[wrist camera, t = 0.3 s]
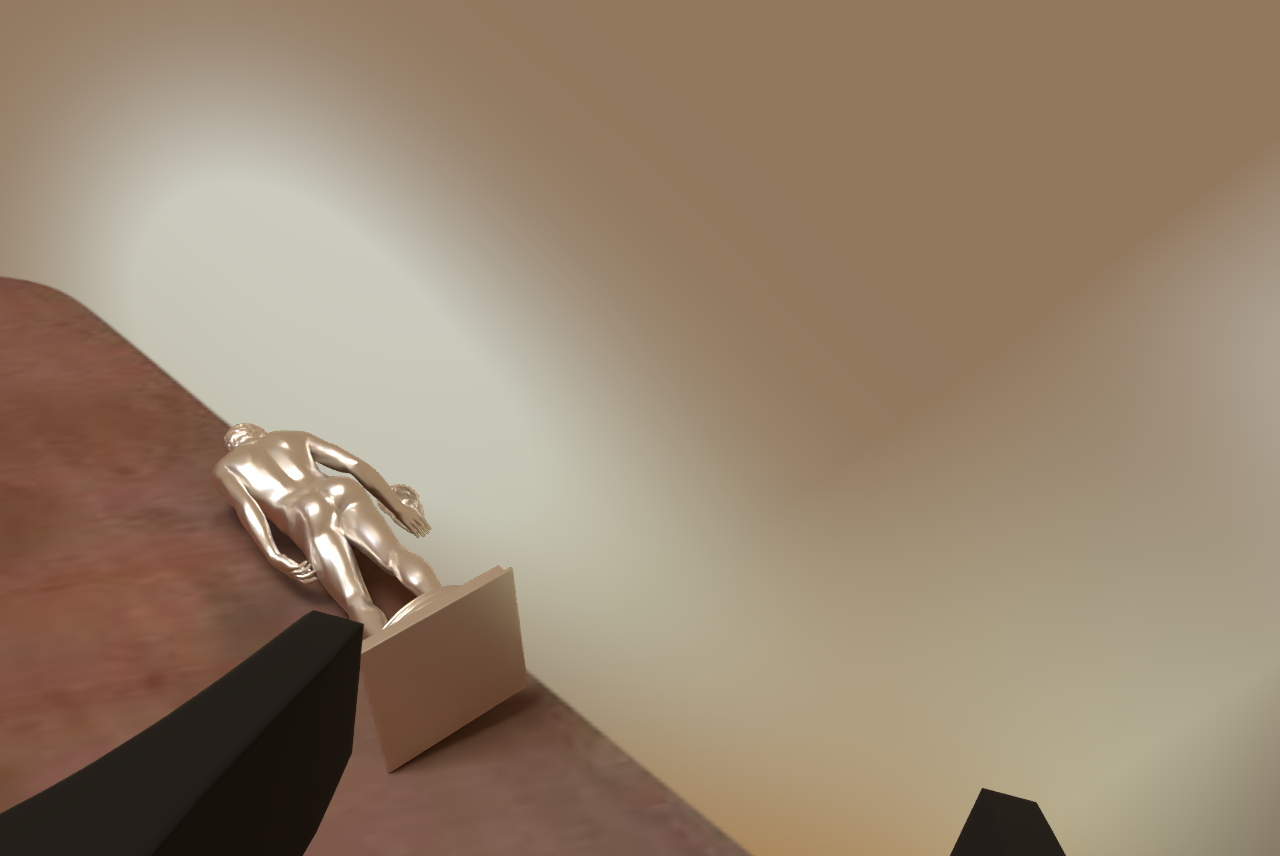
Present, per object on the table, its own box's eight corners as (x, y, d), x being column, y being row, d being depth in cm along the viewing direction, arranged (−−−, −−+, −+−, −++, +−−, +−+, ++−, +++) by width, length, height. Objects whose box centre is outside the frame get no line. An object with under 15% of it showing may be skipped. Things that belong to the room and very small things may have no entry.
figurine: (588, 649, 42) (348, 443, 54) (552, 520, 38) (300, 325, 49) (401, 795, 39) (186, 541, 50) (337, 671, 34) (118, 423, 46)
